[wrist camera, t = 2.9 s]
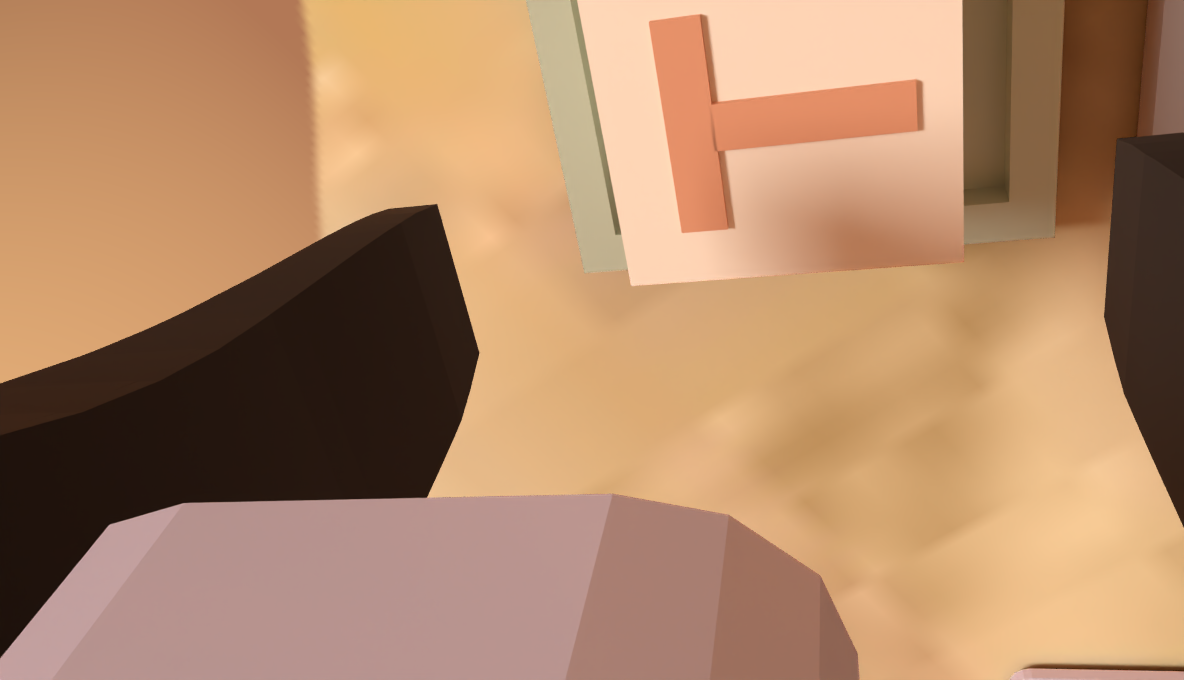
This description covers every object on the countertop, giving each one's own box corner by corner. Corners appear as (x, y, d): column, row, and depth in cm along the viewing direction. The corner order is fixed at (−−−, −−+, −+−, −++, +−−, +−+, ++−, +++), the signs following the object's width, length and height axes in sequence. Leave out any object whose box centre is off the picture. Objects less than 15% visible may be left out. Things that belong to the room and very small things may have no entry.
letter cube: (935, 132, 20) (964, 265, 16) (670, 159, 21) (630, 289, 17) (929, -159, 17) (962, -95, 13) (627, -108, 18) (568, -35, 14)
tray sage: (1045, 213, 20) (1054, 237, 20) (593, 250, 23) (584, 272, 22) (1065, -330, 16) (1079, -328, 15) (496, -216, 18) (480, -209, 17)
